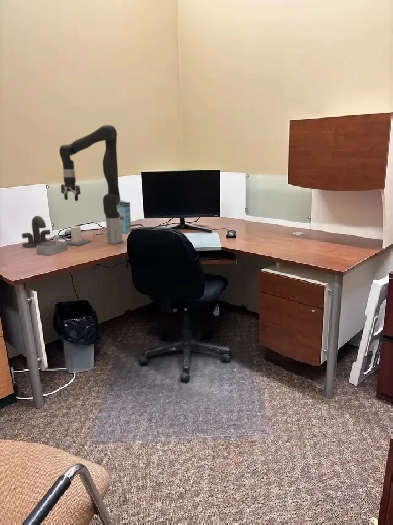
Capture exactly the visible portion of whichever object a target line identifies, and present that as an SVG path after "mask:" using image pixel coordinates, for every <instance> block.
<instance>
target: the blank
mask: <svg viewBox="0 0 393 525" xmlns="http://www.w3.org/2000/svg"><path fill="white" fill-rule="evenodd" d="M70 235H71V240H72V242H75V243H77V242H80V241H82V240H83V239H82V229H81V226H79V225H75V226H71V227H70Z"/></svg>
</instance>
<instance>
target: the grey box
mask: <svg viewBox="0 0 393 525" xmlns="http://www.w3.org/2000/svg"><path fill="white" fill-rule="evenodd" d="M35 248H36V254H37V255H43V254H44V256H53V255H55V254H58V253H61V252H64V251H67V250H68V245H67V242H66V241H63V242H61V243H60V242H59V243H57V241H56V240H55V239H53V240H50V242H47V243H43V244H40V245H37V246H36V247H35Z"/></svg>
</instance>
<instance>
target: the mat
mask: <svg viewBox="0 0 393 525" xmlns="http://www.w3.org/2000/svg"><path fill="white" fill-rule="evenodd" d="M65 242H67V246H73V247H74V246H75V247H81V246H84V245H87V244H90V243H92V240H88V239H82V241H80V242H77V243H75V242H72V239H70V240H67V241H65Z"/></svg>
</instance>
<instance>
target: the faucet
mask: <svg viewBox="0 0 393 525" xmlns="http://www.w3.org/2000/svg"><path fill="white" fill-rule="evenodd" d="M46 227H47V225H46V222H45V220H44V218H43V217H42V216H40V215H34V217H32V220H31V230H32V233H30V232H23V233H21V237H22V239H27V241H28V242H23V243H22V245H21V246H22V247H23V248H27V249H31V248H36V246H37V245H40V244H43V243H47V242H50V241H51V240H50V239H48V238H46V236H47V235H51V229H46ZM40 229H43V230H41V231H40Z"/></svg>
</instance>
